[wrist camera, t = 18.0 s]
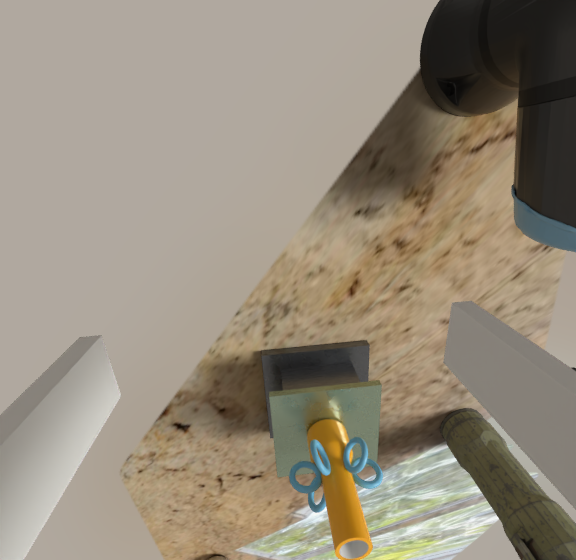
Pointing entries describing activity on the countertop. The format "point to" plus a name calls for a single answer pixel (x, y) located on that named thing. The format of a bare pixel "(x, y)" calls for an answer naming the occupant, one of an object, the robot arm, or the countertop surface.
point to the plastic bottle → (218, 558)
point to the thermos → (510, 489)
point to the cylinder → (339, 485)
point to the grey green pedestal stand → (319, 398)
